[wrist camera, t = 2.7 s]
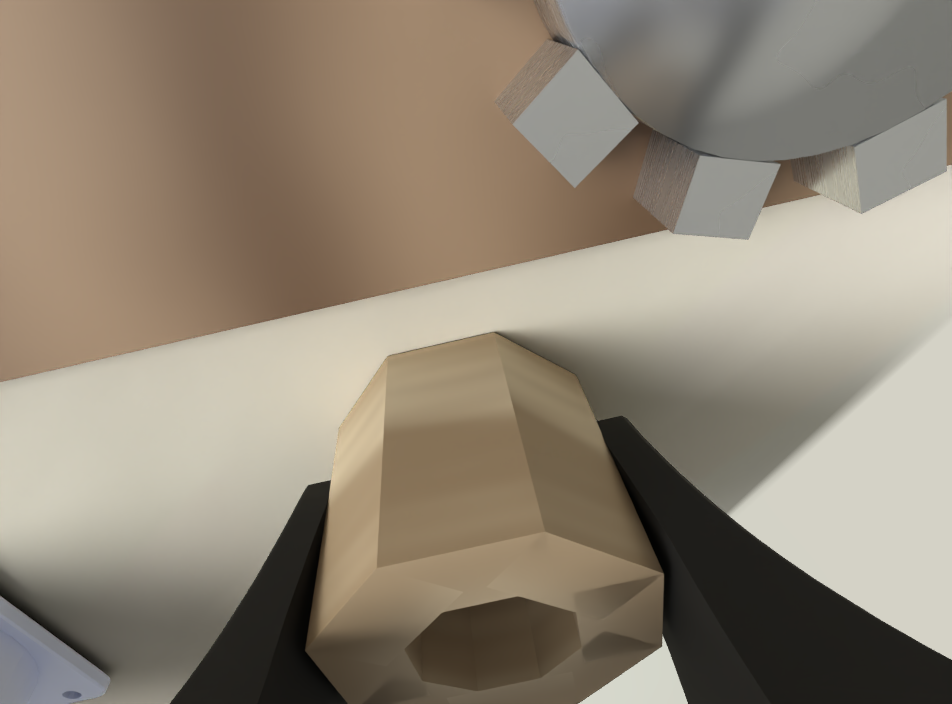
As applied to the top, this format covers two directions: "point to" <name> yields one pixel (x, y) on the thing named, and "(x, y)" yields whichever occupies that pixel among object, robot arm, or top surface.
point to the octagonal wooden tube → (479, 538)
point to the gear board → (271, 165)
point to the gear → (741, 99)
